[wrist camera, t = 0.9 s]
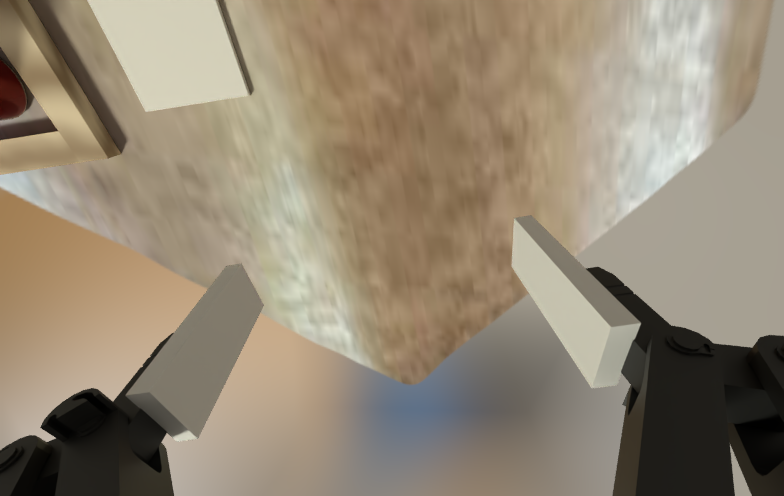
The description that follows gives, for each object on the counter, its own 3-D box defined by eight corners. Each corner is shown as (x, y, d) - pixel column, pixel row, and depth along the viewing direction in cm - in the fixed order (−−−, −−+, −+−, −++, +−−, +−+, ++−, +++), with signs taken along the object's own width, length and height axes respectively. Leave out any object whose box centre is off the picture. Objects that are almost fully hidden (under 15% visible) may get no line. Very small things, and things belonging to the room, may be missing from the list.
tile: (77, -28, 27) (71, -30, 27) (200, -51, 27) (197, -53, 26) (149, 111, 34) (145, 111, 33) (250, 95, 33) (248, 95, 33)
